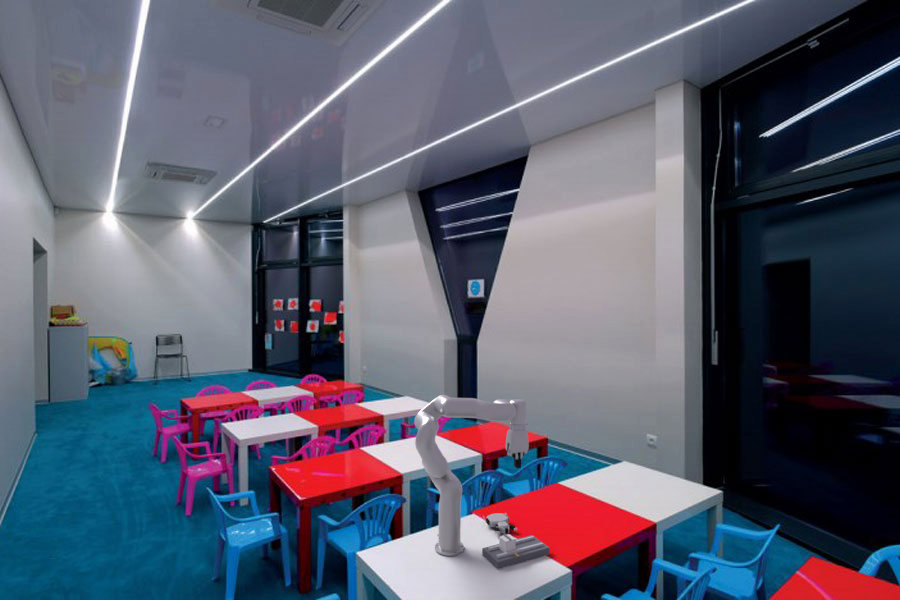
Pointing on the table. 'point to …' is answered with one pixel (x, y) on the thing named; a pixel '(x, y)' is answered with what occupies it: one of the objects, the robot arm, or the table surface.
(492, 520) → the robot toy
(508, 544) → the fader tab
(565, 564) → the table surface
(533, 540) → the grey slider rail base
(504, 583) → the table surface
